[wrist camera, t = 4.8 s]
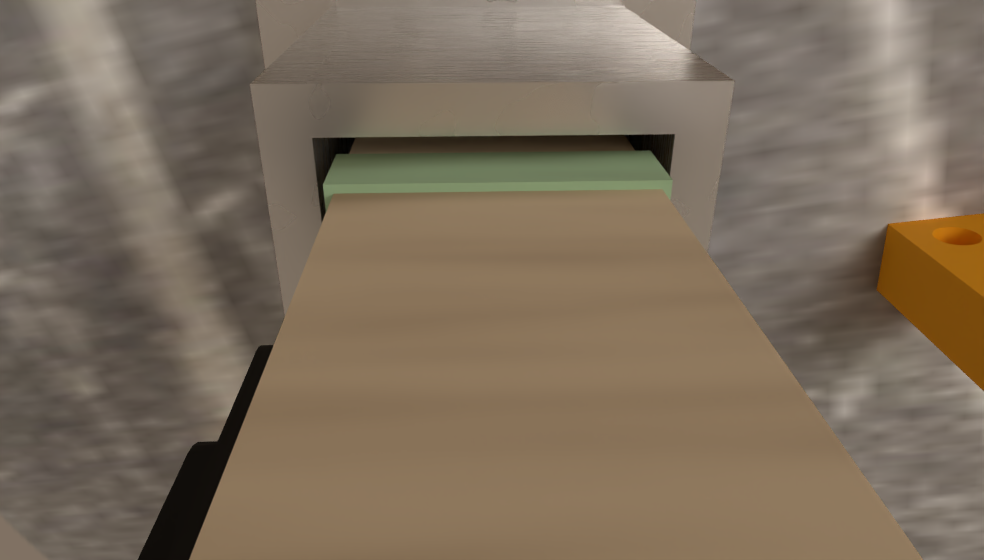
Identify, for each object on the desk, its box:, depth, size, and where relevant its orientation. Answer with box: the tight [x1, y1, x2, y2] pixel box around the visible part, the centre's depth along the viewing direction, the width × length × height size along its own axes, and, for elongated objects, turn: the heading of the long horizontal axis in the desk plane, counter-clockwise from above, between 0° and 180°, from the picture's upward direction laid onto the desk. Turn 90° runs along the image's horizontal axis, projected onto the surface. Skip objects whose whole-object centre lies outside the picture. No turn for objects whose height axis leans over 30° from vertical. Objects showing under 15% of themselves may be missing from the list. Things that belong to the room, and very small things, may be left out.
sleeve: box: [250, 0, 735, 315], centre depth 18 cm, size 12×12×10 cm
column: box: [189, 135, 923, 560], centre depth 12 cm, size 6×6×15 cm
